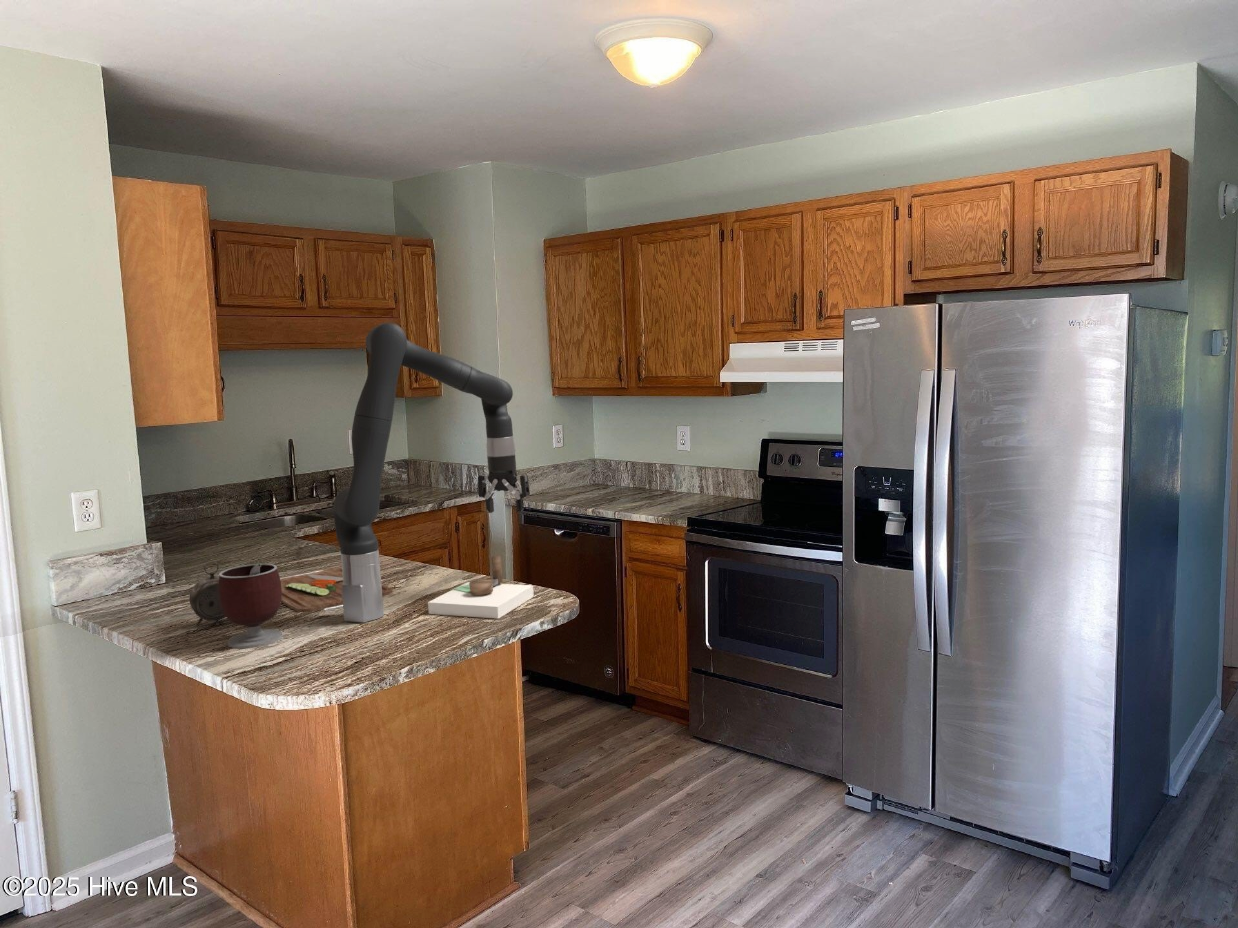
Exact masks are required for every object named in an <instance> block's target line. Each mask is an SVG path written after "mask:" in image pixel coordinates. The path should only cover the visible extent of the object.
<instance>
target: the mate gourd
mask: <svg viewBox="0 0 1238 928" xmlns="http://www.w3.org/2000/svg"><path fill="white" fill-rule="evenodd" d="M279 573H280V572H279V570H278V566H277V565H276V564H272V563H253V564H245V565H239V566H234V567H229V568H227V569H224V570H222V571H220V572H219V574H218V576H219V585H218V593H219V601H220V605H221V609H222V611H223V614H224V615H225V616H226V618H227V619H228V620H229V621H230V623H232V624H235V625H240V626H245V627H247V630H246V632H242V633H239V634H236V635H234V636H232V637H230V638H228V640H227V646H228V647H230V648H233V649H254V648H260V647H264V646H267V645H268V646H269V645H271V644H274V643H276V642H278V641H280V640H282V639H283V637H284V636H283V631H281V630H279V629H273V628H272V629H268V628H267V629H263V628H262V627H261V626H262V624H263V623H265V622H267V621H269V620H271V619H273V618H274V617H275V616H276V615H277V613H278V612H279V609H280V608H281V605H282V603H281V599H282V588H281V580H280V578H281V577H280V574H279Z"/></svg>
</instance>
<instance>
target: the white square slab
mask: <svg viewBox="0 0 1238 928" xmlns="http://www.w3.org/2000/svg"><path fill="white" fill-rule="evenodd" d="M470 582H471V581H466V582H465V583H463V584H461V585H459V586H457V587H455V588H452V589H451V590H450V591H449V590H448V592H445V593H443V594H441V595H439V596H437V597H436V598H434V599H432V600H430V601H428V602H427V607H428V615H439V616H440V615H441V616H456V617H457V616H458V617H470V618H482V619H483V618H484V619H486V618H487V619H500V618H502V617H504V616H505V615H506V614H509V612H511V611H513V610H515V609H516V608H518V607H519V606H521V605H523V604H524V603H525V602H527V601H528V600H530V599H532V598H534V585H531V584H527V585H526V584H513V583H510V584H508V583H498V584H496V585H495V586H493V592H491V593H488V594H482V595H474V594H471V593H470V586H469V583H470Z"/></svg>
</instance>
